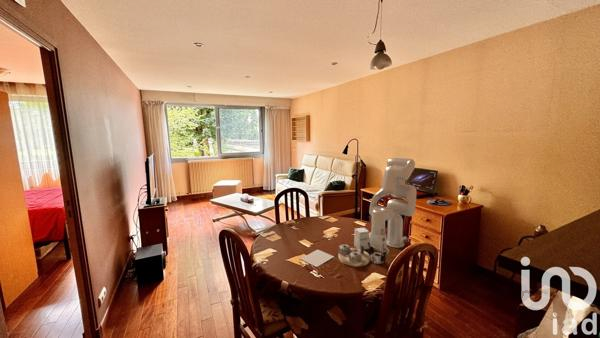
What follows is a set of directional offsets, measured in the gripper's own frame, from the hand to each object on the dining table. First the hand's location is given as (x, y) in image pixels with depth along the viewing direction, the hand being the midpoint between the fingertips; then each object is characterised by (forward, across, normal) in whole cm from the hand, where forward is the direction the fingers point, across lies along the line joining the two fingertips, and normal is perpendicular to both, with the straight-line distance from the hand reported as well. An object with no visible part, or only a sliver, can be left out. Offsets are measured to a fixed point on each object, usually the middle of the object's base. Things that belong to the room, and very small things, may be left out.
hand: (377, 257), depth 143 cm
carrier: (+3, +9, +10) cm, 14 cm away
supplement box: (+2, +19, -4) cm, 19 cm away
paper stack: (+4, +14, +32) cm, 35 cm away
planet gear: (+2, 0, 0) cm, 3 cm away
